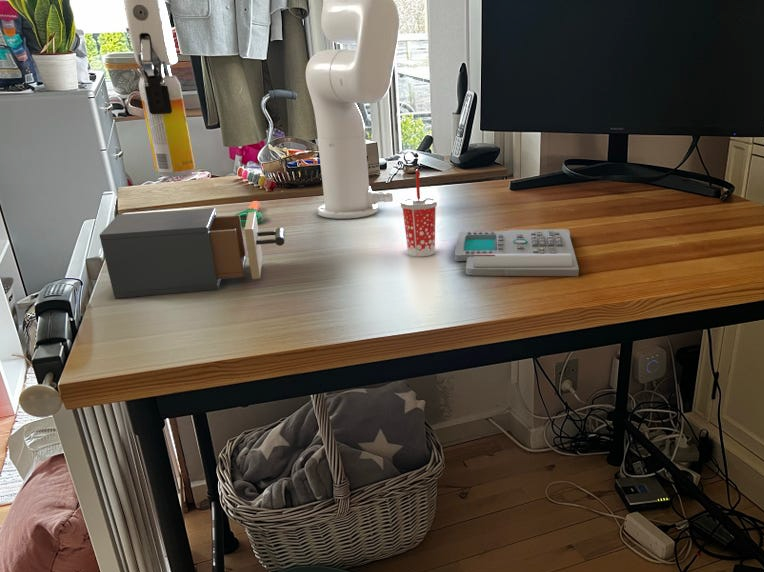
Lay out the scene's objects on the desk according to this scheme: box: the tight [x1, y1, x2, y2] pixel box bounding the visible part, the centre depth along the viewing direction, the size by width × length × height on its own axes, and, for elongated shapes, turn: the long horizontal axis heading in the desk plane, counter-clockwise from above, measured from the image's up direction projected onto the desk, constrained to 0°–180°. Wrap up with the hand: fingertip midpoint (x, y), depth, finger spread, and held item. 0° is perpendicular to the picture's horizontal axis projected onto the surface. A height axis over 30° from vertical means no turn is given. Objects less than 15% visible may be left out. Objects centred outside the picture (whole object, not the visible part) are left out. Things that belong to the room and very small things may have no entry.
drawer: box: [209, 212, 286, 280], centre depth 114 cm, size 18×11×8 cm, turn 104°
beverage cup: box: [399, 169, 438, 258], centre depth 123 cm, size 6×6×14 cm
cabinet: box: [99, 207, 222, 299], centre depth 112 cm, size 15×13×10 cm
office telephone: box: [454, 228, 580, 277], centre depth 123 cm, size 23×3×20 cm
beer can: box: [138, 74, 196, 178], centre depth 117 cm, size 6×6×15 cm
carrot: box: [234, 200, 263, 227], centre depth 151 cm, size 15×6×2 cm, turn 7°
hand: (164, 110), depth 116 cm, fingers closed on beer can, 6 cm apart
